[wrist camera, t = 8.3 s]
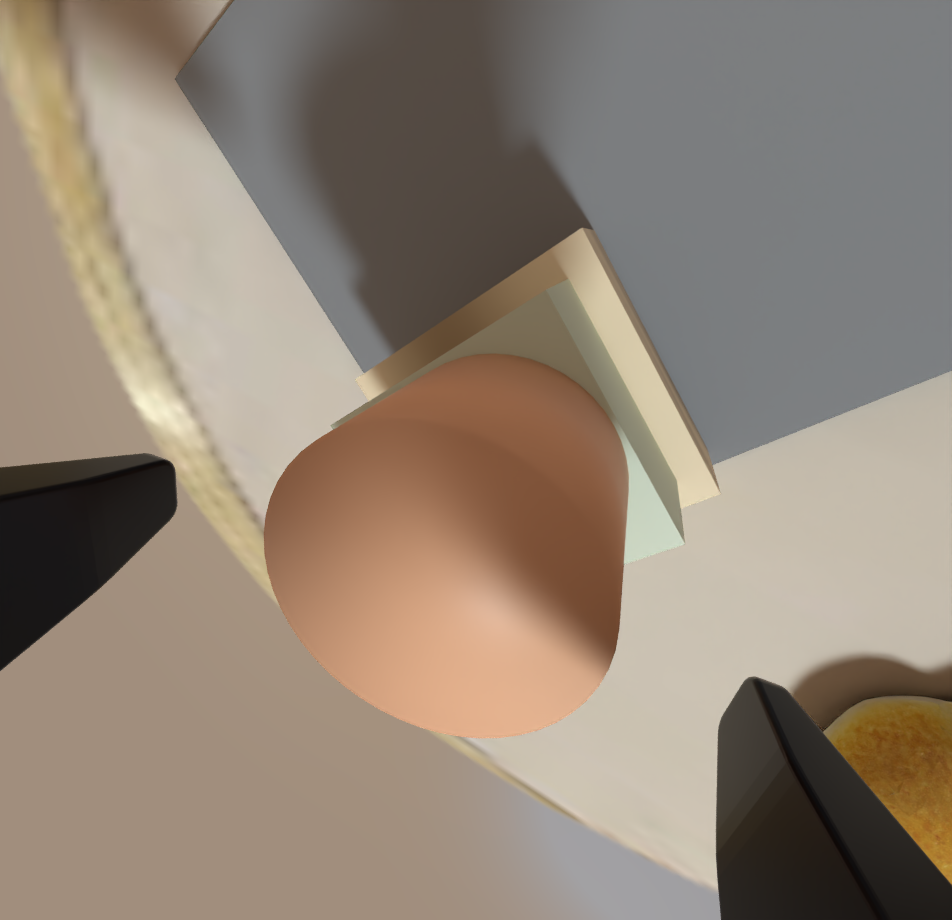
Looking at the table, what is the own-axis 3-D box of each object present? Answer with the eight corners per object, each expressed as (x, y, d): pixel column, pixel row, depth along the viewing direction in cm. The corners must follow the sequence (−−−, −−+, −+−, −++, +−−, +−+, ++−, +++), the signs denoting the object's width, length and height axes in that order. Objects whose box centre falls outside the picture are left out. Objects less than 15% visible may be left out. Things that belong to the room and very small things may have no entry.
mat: (761, -665, 8) (766, -704, 8) (1087, 309, 12) (1100, 312, 11) (185, 82, 16) (174, 78, 16) (484, 550, 19) (481, 555, 19)
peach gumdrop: (546, 299, 9) (481, 338, 6) (675, 539, 10) (692, 701, 6) (340, 426, 11) (202, 510, 8) (463, 610, 12) (389, 760, 9)
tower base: (594, 230, 14) (581, 227, 11) (707, 449, 15) (720, 494, 12) (400, 357, 17) (354, 379, 14) (508, 531, 18) (485, 580, 15)
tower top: (568, 278, 12) (546, 289, 9) (676, 480, 13) (685, 544, 10) (390, 390, 14) (330, 425, 11) (493, 552, 15) (460, 619, 12)
